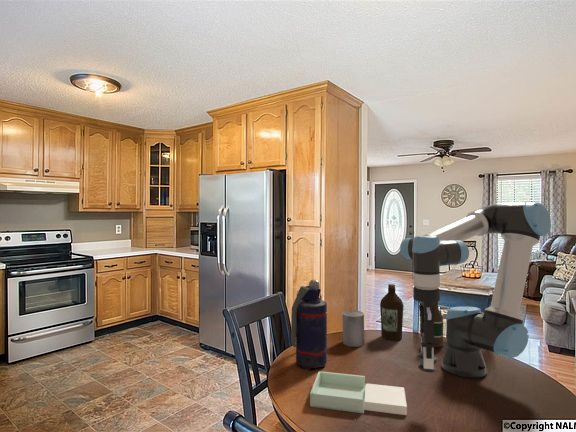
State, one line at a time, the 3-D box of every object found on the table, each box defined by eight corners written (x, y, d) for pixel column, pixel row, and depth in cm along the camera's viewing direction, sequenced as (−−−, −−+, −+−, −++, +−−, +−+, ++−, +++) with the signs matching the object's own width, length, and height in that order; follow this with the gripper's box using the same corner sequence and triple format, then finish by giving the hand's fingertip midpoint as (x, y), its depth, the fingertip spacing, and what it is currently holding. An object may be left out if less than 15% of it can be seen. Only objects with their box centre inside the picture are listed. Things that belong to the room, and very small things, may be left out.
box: (366, 388, 121) (366, 376, 121) (364, 413, 106) (364, 399, 106) (318, 382, 125) (318, 371, 125) (310, 406, 110) (310, 393, 110)
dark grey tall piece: (432, 364, 112) (432, 325, 112) (441, 372, 107) (440, 331, 106) (413, 364, 112) (413, 325, 112) (421, 373, 106) (420, 332, 106)
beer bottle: (444, 343, 163) (444, 290, 163) (441, 348, 157) (441, 293, 157) (426, 340, 168) (426, 288, 167) (422, 345, 161) (422, 291, 161)
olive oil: (383, 332, 179) (383, 281, 179) (405, 336, 174) (405, 283, 173) (377, 339, 169) (377, 285, 169) (400, 342, 164) (400, 287, 164)
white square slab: (404, 395, 117) (404, 387, 117) (406, 415, 105) (406, 406, 105) (365, 390, 119) (365, 383, 119) (364, 409, 108) (364, 401, 108)
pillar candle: (352, 338, 171) (351, 306, 171) (369, 343, 163) (368, 310, 163) (338, 343, 165) (337, 310, 164) (354, 349, 157) (354, 314, 157)
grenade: (318, 356, 148) (318, 283, 148) (332, 368, 137) (332, 288, 137) (286, 361, 143) (286, 285, 143) (298, 373, 132) (298, 291, 132)
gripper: (410, 280, 119) (411, 351, 119) (416, 293, 101) (417, 376, 101) (434, 281, 117) (435, 352, 118) (445, 294, 99) (446, 379, 99)
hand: (427, 363), depth 109 cm, fingers closed on dark grey tall piece, 6 cm apart
